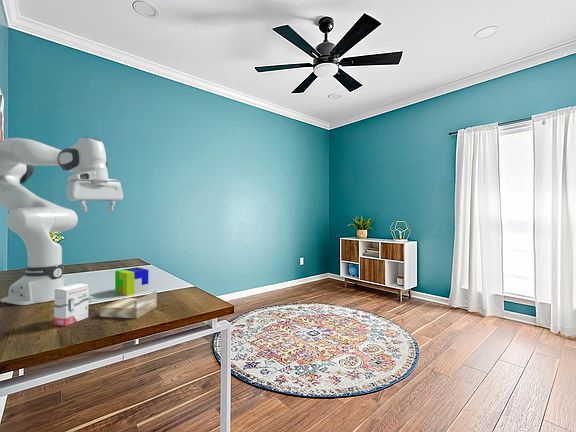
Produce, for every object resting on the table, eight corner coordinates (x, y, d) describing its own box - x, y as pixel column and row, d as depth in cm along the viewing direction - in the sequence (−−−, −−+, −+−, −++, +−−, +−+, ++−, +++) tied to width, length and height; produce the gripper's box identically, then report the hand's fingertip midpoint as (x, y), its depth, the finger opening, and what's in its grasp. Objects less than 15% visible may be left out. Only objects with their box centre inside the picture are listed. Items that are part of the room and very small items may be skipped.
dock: (99, 316, 99) (99, 299, 99) (123, 305, 111) (123, 290, 111) (136, 318, 98) (136, 301, 98) (156, 306, 110) (156, 291, 110)
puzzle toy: (148, 290, 133) (148, 269, 133) (126, 295, 124) (126, 273, 124) (136, 287, 138) (136, 267, 138) (115, 292, 130) (115, 270, 130)
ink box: (65, 326, 90) (65, 290, 90) (53, 325, 91) (52, 289, 91) (89, 317, 99) (89, 283, 99) (77, 316, 100) (77, 282, 100)
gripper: (115, 180, 124) (118, 211, 124) (62, 176, 106) (66, 213, 106) (124, 178, 121) (128, 210, 121) (72, 174, 103) (76, 211, 103)
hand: (99, 211), depth 113 cm, fingers open, 8 cm apart
